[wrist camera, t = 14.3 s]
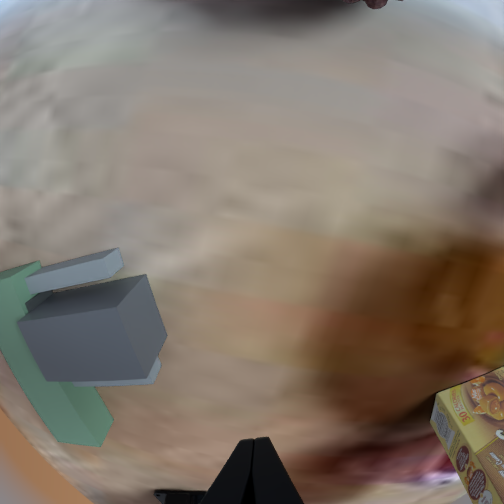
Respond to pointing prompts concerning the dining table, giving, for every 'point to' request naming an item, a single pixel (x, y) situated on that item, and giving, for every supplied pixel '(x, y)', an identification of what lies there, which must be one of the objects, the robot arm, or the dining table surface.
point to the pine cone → (371, 3)
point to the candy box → (474, 434)
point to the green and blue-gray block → (24, 365)
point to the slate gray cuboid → (96, 332)
